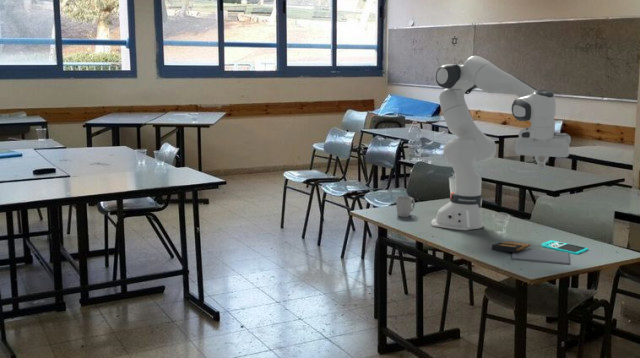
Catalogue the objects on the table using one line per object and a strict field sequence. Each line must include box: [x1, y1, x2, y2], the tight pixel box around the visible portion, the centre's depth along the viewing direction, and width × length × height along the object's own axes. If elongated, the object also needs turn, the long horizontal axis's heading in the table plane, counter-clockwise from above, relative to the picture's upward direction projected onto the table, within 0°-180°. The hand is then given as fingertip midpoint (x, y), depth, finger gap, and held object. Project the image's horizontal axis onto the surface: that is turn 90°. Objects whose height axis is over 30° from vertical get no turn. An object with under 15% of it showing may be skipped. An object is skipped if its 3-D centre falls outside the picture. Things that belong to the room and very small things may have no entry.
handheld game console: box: [541, 239, 589, 256], centre depth 264 cm, size 10×16×1 cm, turn 43°
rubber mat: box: [511, 248, 571, 265], centre depth 253 cm, size 20×14×1 cm
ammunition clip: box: [491, 241, 532, 253], centre depth 261 cm, size 11×2×12 cm
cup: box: [395, 195, 416, 218], centre depth 315 cm, size 8×10×8 cm
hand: (541, 166), depth 266 cm, fingers closed
